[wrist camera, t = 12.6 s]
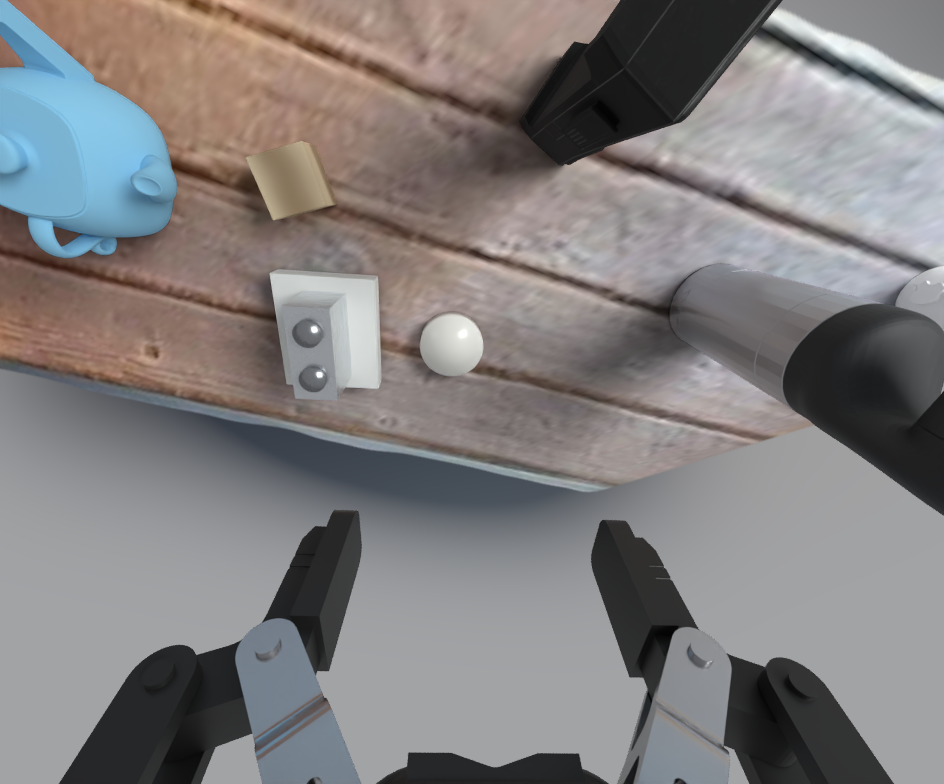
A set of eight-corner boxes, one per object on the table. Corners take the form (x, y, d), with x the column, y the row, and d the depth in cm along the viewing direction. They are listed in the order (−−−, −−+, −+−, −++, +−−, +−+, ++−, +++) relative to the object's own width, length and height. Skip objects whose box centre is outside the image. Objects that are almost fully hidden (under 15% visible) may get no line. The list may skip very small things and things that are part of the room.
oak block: (316, 146, 36) (301, 140, 32) (337, 204, 38) (325, 205, 35) (265, 160, 36) (245, 157, 33) (289, 217, 39) (273, 220, 35)
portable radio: (557, 180, 38) (706, 161, 16) (509, 136, 36) (602, 44, 14) (615, 101, 35) (893, -55, 13) (567, 49, 34) (794, -234, 11)
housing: (346, 292, 39) (327, 310, 33) (351, 374, 43) (336, 403, 37) (305, 290, 39) (278, 307, 33) (314, 373, 43) (292, 401, 37)
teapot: (116, 22, 31) (-43, -59, 21) (238, 191, 37) (158, 190, 27) (-10, 127, 34) (-204, 99, 24) (122, 269, 40) (10, 295, 30)
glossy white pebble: (484, 313, 44) (485, 318, 42) (479, 370, 47) (480, 377, 45) (421, 309, 43) (420, 314, 41) (420, 367, 46) (419, 374, 45)
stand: (379, 274, 41) (374, 280, 39) (382, 377, 47) (378, 388, 44) (281, 267, 40) (269, 273, 38) (296, 373, 46) (286, 384, 43)
